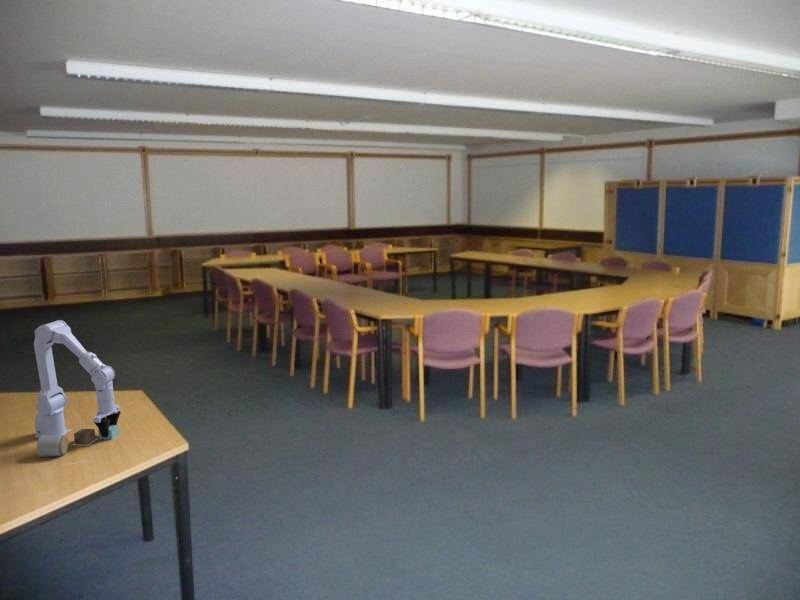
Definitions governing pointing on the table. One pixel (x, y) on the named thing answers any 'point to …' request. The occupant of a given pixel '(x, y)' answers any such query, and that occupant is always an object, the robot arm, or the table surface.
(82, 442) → the walnut block
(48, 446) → the ceramic mug
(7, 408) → the table surface
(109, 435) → the teal block
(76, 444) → the mat
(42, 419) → the robot arm
